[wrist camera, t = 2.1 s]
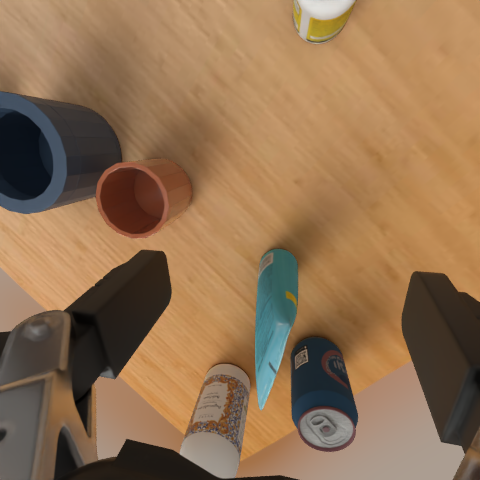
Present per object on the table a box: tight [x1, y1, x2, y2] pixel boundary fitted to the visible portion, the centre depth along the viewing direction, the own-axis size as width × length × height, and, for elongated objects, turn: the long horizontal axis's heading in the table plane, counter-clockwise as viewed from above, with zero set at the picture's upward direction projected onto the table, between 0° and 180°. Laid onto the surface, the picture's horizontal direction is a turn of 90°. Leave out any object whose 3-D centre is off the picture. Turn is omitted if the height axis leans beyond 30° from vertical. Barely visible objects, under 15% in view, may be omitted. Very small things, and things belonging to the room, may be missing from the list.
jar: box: [0, 91, 121, 214], centre depth 33 cm, size 11×11×10 cm
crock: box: [96, 158, 192, 238], centre depth 34 cm, size 8×8×8 cm
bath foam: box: [180, 364, 250, 478], centre depth 36 cm, size 7×7×20 cm
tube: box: [255, 249, 298, 410], centre depth 30 cm, size 7×5×19 cm, turn 171°
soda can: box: [291, 337, 358, 452], centre depth 36 cm, size 7×7×12 cm
